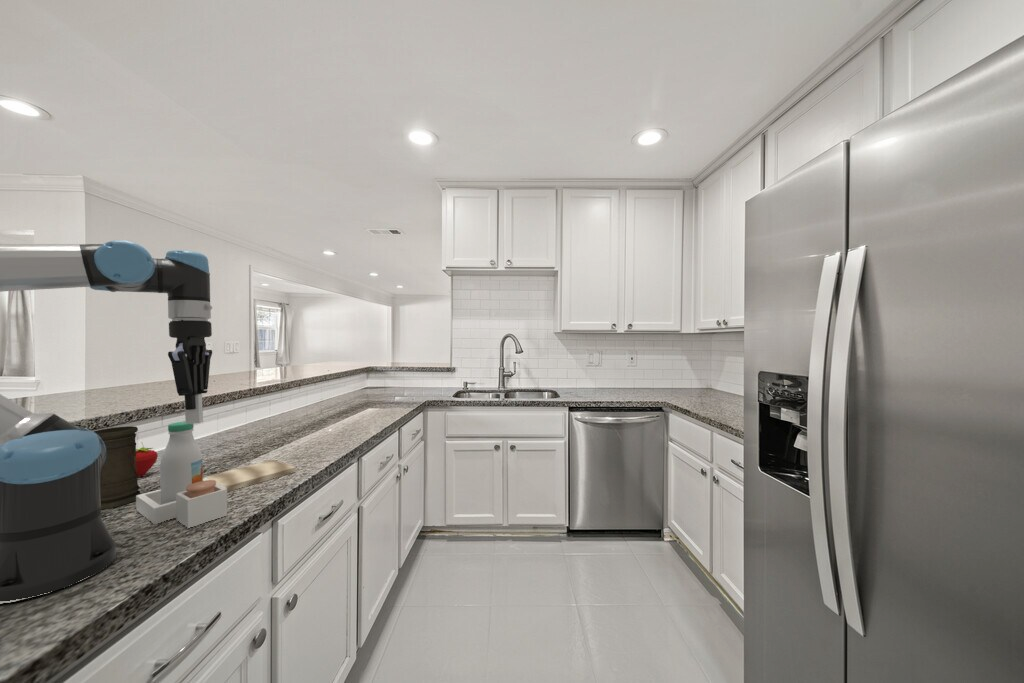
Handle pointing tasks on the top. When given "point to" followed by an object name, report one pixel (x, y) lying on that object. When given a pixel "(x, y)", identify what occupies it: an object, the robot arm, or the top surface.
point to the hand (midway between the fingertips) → (194, 422)
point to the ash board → (251, 474)
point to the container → (118, 467)
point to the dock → (184, 506)
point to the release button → (201, 488)
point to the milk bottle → (179, 462)
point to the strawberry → (145, 460)
